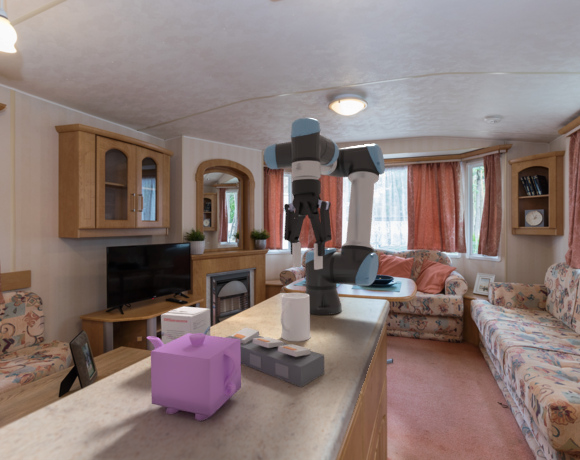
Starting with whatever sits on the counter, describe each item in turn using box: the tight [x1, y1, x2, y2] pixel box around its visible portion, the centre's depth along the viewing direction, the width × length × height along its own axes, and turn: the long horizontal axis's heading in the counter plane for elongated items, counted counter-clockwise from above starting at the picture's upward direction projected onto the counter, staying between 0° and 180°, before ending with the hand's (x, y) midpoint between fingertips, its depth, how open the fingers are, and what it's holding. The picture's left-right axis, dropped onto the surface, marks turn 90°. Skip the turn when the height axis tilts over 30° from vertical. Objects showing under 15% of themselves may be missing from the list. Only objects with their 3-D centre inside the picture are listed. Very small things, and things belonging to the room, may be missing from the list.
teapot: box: [146, 333, 242, 421], centre depth 60 cm, size 20×10×12 cm, turn 70°
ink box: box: [160, 306, 211, 345], centre depth 81 cm, size 9×8×12 cm
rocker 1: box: [230, 326, 261, 344], centre depth 82 cm, size 5×5×1 cm
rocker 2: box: [253, 336, 284, 348], centre depth 77 cm, size 5×5×1 cm
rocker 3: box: [278, 343, 312, 357], centre depth 72 cm, size 5×5×1 cm
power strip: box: [225, 335, 325, 388], centre depth 79 cm, size 8×32×4 cm, turn 49°
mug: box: [280, 292, 312, 342], centre depth 94 cm, size 12×8×12 cm
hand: (307, 267), depth 87 cm, fingers open, 6 cm apart
